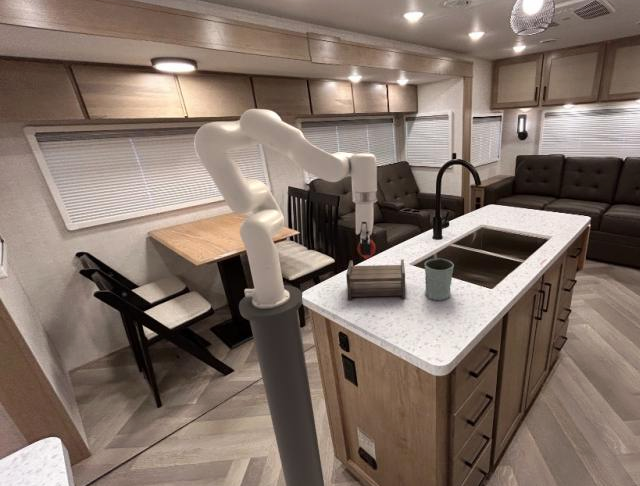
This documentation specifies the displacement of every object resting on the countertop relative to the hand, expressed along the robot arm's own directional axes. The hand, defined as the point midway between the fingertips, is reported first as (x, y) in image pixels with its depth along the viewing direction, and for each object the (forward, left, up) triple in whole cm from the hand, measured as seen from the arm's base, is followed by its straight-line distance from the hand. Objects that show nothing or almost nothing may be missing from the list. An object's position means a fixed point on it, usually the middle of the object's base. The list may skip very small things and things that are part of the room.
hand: (366, 250), depth 104 cm
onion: (0, 0, -3) cm, 3 cm away
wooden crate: (+3, +7, -19) cm, 20 cm away
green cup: (+25, +4, -19) cm, 31 cm away
